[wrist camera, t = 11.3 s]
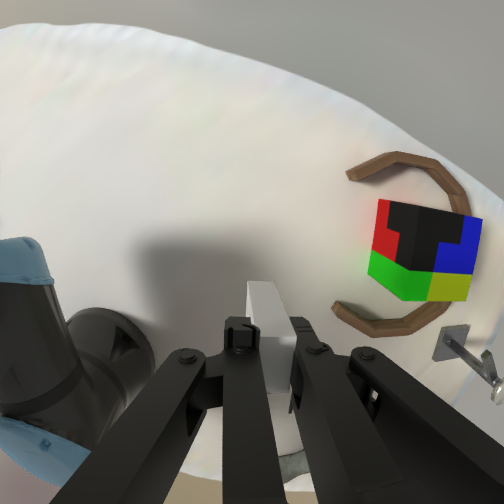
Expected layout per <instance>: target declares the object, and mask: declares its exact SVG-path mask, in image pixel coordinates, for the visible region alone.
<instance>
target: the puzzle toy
mask: <svg viewBox="0 0 504 504" xmlns="http://www.w3.org/2000/svg"><path fill="white" fill-rule="evenodd" d="M482 221H483V219H480V218H475V217H471V216H466V215H462V214H457V213H453V212H448V211H443V210H438V209H433V208H428V207H423V206H418V205H412V204H407V203H401V202H395V201H389V200H383V199H379V201H378V209H377V217H376V224H375V231H374V238H373V244H372V250H371V256H370V262H369V268H368V273H367V274H368V275H370V276H371V277H372V278H374V279H375V280H376V281H377V282H379V283H380V284H381V285H383V286H384V287H385V288H386V289H388V290H389V291H390V292H392V293H393V294H394V295H395V296H397V297H398V298H399V299H400V300H402V301H466V298H467V294H468V291H469V287H470V283H471V279H472V274H473V270H474V265H475V261H476V256H477V251H478V245H479V240H480V234H481V228H482Z"/></svg>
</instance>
